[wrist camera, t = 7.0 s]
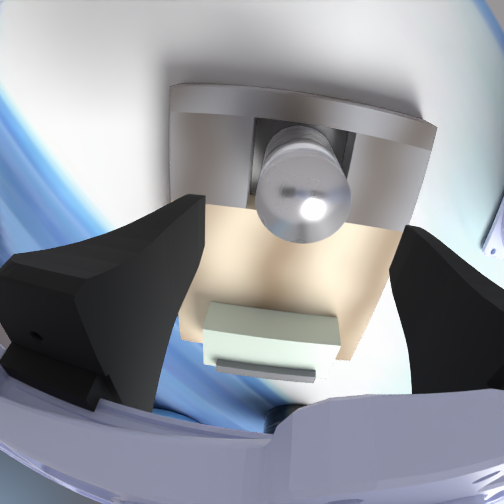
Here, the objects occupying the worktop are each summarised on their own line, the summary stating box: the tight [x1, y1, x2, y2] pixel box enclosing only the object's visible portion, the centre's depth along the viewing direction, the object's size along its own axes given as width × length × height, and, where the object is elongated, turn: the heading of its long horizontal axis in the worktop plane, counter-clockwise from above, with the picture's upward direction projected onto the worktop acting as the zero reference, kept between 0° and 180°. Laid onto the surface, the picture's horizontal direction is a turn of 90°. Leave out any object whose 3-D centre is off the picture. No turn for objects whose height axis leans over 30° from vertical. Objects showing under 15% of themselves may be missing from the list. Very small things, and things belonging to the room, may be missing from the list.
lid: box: [203, 302, 341, 383], centre depth 22 cm, size 9×4×3 cm, turn 85°
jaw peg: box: [255, 126, 352, 244], centre depth 15 cm, size 4×4×6 cm
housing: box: [169, 83, 437, 360], centre depth 20 cm, size 14×19×2 cm
